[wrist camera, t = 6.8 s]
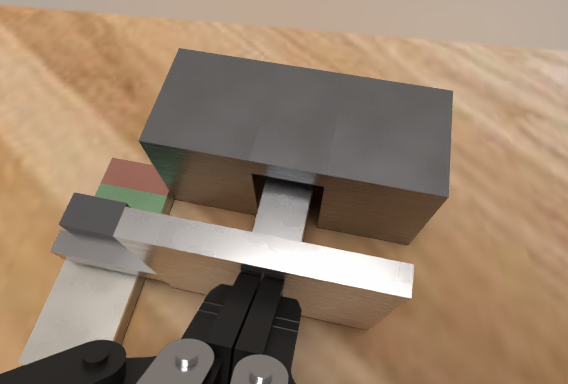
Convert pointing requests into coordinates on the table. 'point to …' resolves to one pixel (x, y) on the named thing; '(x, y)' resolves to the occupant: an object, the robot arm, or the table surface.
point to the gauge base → (262, 167)
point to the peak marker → (92, 216)
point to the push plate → (251, 258)
